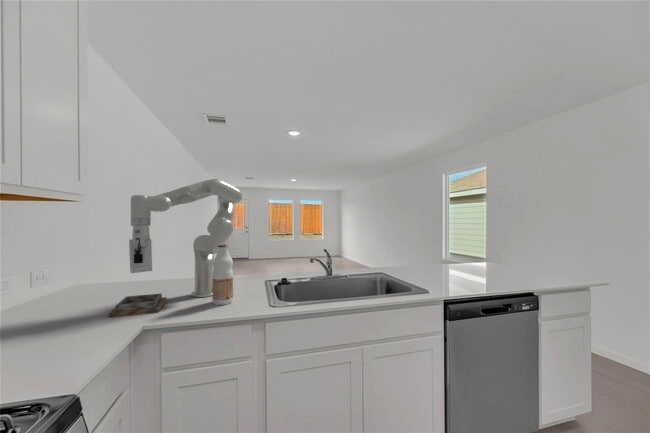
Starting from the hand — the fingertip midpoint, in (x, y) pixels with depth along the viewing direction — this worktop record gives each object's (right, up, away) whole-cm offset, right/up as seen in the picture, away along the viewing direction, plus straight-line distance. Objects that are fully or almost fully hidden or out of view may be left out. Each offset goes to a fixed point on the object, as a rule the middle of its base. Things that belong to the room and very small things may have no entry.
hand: (140, 261), depth 125 cm
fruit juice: (+34, -21, +9) cm, 41 cm away
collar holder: (0, -21, 0) cm, 21 cm away
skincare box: (0, -5, 0) cm, 5 cm away
